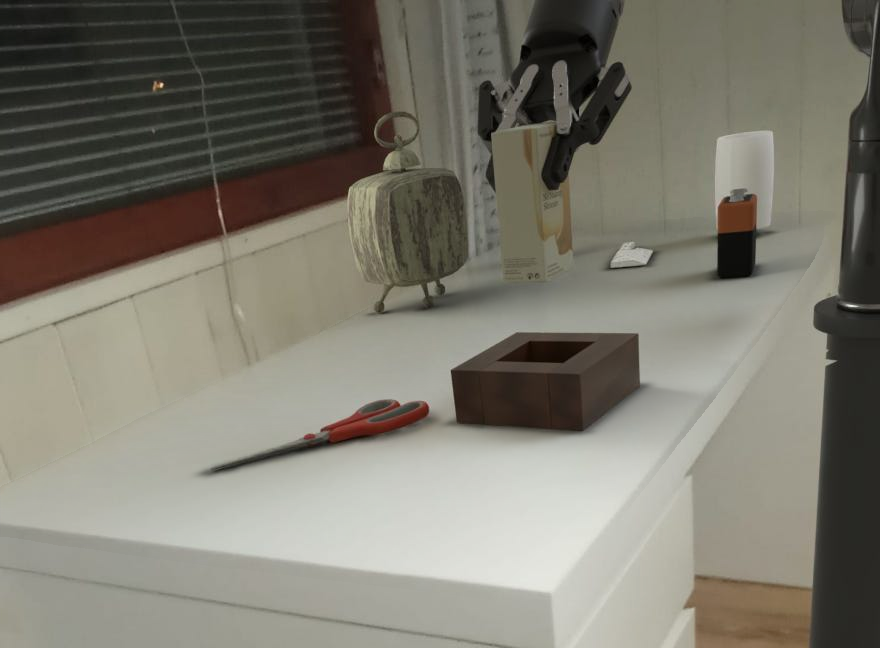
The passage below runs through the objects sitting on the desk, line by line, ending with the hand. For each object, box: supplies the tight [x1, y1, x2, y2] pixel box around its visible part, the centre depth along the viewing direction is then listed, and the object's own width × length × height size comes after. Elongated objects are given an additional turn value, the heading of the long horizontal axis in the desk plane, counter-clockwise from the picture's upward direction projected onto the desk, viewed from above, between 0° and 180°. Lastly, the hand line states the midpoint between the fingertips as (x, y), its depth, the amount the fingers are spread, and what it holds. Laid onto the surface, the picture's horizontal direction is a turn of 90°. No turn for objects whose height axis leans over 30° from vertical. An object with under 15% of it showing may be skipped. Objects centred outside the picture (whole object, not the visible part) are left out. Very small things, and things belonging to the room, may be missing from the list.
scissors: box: [210, 398, 430, 471], centre depth 92 cm, size 8×21×2 cm, turn 126°
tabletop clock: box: [346, 111, 469, 314], centre depth 135 cm, size 14×9×25 cm, turn 123°
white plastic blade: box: [610, 241, 654, 269], centre depth 150 cm, size 5×15×1 cm, turn 161°
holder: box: [450, 331, 641, 432], centre depth 92 cm, size 13×13×5 cm
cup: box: [714, 130, 775, 231], centre depth 150 cm, size 8×8×14 cm
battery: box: [716, 188, 757, 279], centre depth 129 cm, size 4×7×10 cm, turn 159°
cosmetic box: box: [491, 121, 574, 284], centre depth 85 cm, size 6×4×12 cm
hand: (522, 185), depth 83 cm, fingers closed on cosmetic box, 4 cm apart
